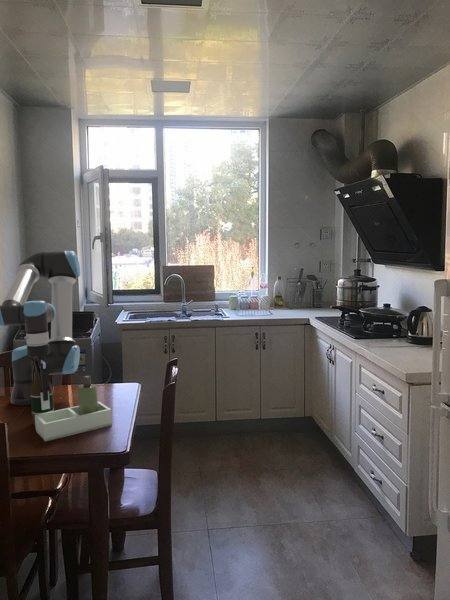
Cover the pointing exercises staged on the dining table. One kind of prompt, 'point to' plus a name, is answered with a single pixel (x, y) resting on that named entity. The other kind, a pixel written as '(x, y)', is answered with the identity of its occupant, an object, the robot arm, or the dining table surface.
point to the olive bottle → (87, 397)
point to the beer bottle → (39, 398)
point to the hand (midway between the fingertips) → (42, 406)
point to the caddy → (71, 422)
